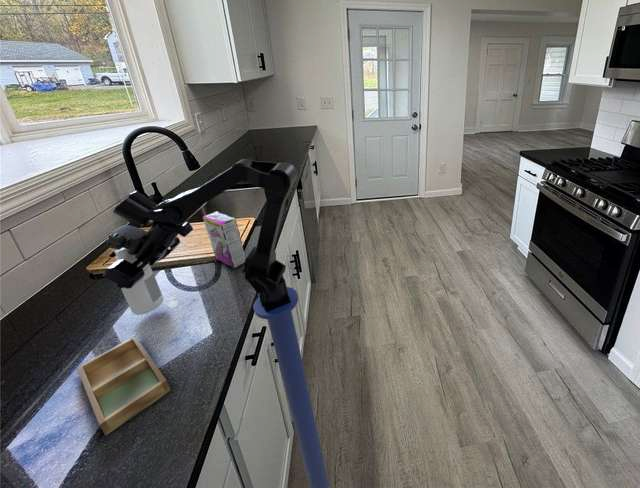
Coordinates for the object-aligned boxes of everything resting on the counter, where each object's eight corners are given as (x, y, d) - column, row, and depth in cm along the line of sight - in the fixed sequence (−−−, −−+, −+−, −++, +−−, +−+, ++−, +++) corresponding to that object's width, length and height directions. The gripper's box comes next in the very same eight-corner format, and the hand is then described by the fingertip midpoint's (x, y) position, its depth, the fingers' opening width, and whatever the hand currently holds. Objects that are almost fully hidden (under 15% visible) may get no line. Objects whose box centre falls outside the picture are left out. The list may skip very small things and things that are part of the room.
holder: (139, 344, 74) (135, 335, 72) (171, 390, 62) (166, 380, 61) (82, 377, 66) (76, 367, 65) (105, 435, 55) (99, 425, 54)
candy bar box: (214, 260, 106) (201, 216, 100) (229, 252, 110) (217, 210, 104) (233, 269, 100) (220, 224, 94) (248, 261, 104) (236, 217, 98)
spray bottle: (169, 300, 84) (146, 242, 78) (141, 318, 78) (113, 257, 72) (154, 294, 87) (131, 238, 80) (126, 311, 81) (98, 252, 75)
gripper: (154, 201, 82) (126, 241, 86) (94, 237, 65) (62, 285, 68) (193, 225, 85) (165, 262, 89) (146, 265, 68) (114, 310, 71)
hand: (130, 277), depth 79 cm, fingers closed on spray bottle, 7 cm apart
